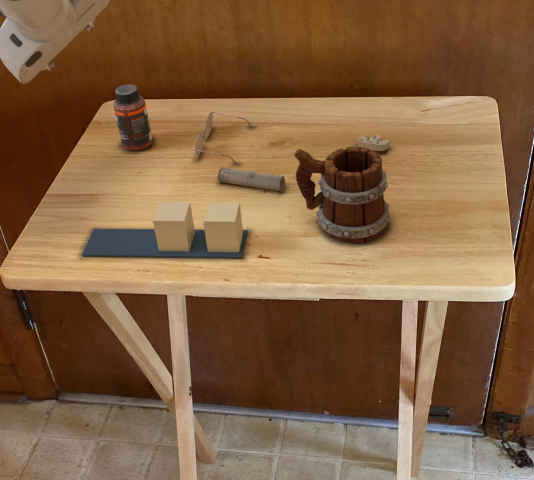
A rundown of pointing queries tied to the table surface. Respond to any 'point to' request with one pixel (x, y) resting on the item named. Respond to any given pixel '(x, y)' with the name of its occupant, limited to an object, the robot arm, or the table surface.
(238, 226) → the cream block
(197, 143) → the eyeglasses
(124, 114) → the supplement bottle
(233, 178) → the rod
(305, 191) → the mug
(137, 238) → the line strip
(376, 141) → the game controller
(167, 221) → the cream block
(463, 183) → the table surface
